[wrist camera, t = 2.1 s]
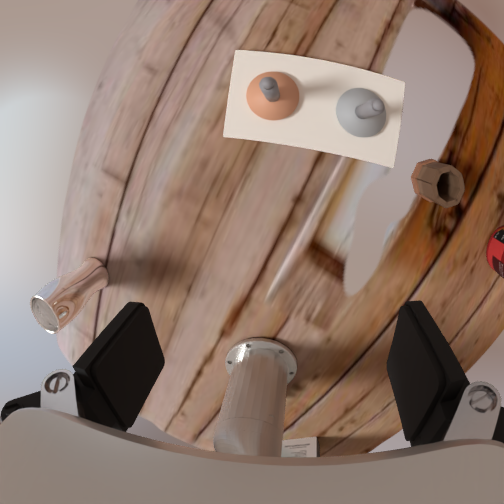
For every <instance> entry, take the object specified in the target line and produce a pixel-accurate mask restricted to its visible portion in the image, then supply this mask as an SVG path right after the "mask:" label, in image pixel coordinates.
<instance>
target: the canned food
mask: <svg viewBox="0 0 504 504" xmlns="http://www.w3.org/2000/svg"><path fill="white" fill-rule="evenodd" d="M486 257H487V261H488V263H489V265H490V267H491V268H492V269H493V270H495V271H496V272H497V273H498V274H499V275H500V276H501V277H503V278H504V226H502V227H499V228H498V229H497V230H495V232H494V233H493V234H492V236H491V238H490V240H489V242H488V245H487V251H486Z"/></svg>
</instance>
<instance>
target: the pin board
mask: <svg viewBox="0 0 504 504" xmlns="http://www.w3.org/2000/svg"><path fill="white" fill-rule="evenodd" d="M404 90H405V82H403V81H400V80H397V79H394V78H391V77H388V76H385V75H381V74H378V73H374V72H371V71H367V70H364V69H360V68H356V67H352V66H348V65H343V64H339V63H334V62H330V61H325V60H319V59H314V58H308V57H302V56H295V55H288V54H279V53H270V52H259V51H245V50H235V56H234V62H233V69H232V75H231V82H230V89H229V96H228V103H227V110H226V117H225V125H224V133H223V137H230V138H239V139H248V140H256V141H263V142H270V143H277V144H284V145H290V146H296V147H302V148H307V149H313V150H318V151H323V152H328V153H333V154H337V155H342V156H347V157H351V158H355V159H360V160H364V161H368V162H372V163H376V164H380V165H383V166H387V167H391V168H394V163H395V157H396V151H397V145H398V139H399V133H400V125H401V118H402V110H403V101H404Z"/></svg>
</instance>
